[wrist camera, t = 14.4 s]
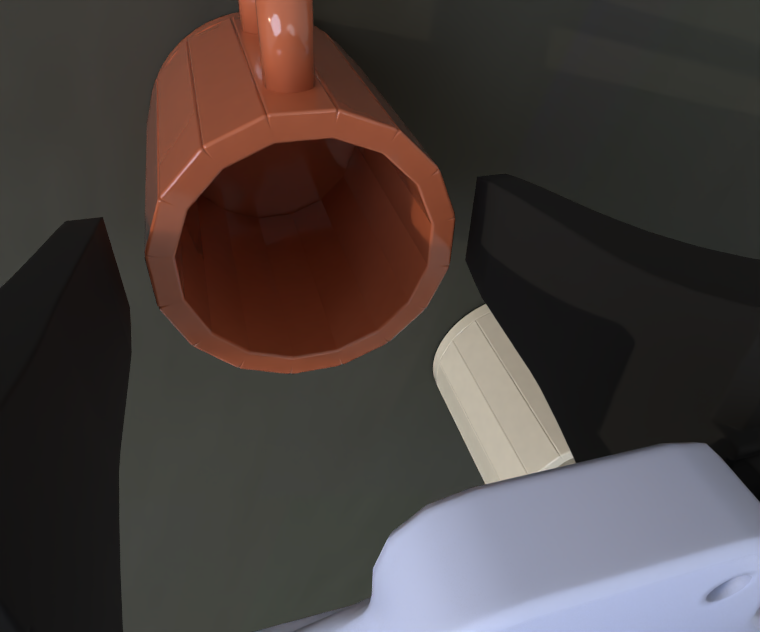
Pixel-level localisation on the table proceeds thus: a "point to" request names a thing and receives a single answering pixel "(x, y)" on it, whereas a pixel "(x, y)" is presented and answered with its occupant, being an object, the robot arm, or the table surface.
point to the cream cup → (497, 401)
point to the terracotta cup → (286, 197)
